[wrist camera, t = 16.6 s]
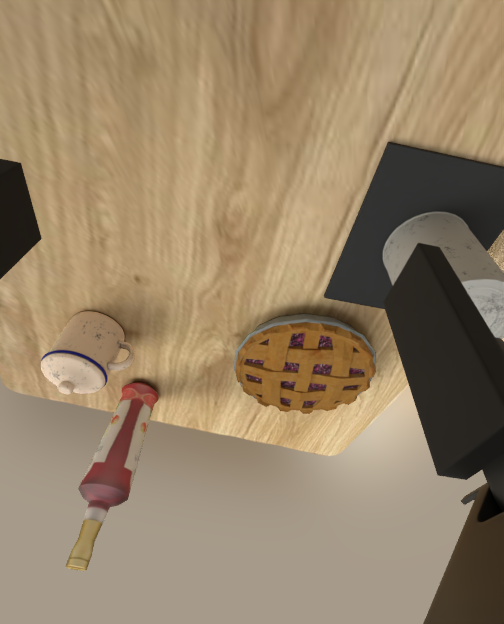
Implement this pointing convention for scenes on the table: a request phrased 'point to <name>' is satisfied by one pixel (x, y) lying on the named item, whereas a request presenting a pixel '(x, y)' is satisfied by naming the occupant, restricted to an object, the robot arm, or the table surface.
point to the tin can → (452, 260)
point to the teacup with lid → (86, 353)
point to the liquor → (113, 466)
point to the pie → (305, 363)
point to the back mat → (414, 213)
